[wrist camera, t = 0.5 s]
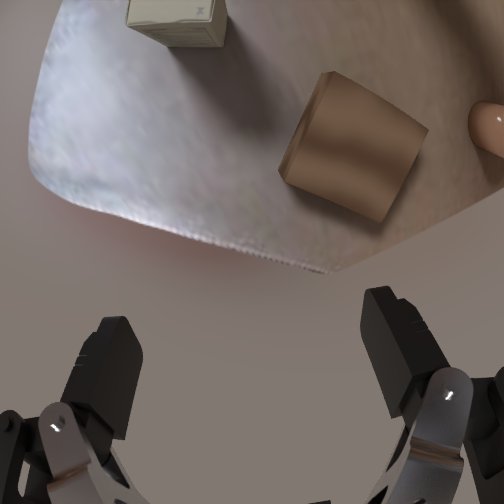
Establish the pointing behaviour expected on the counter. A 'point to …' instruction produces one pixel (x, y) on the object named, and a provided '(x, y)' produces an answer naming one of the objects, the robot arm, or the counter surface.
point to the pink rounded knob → (487, 127)
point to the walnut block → (352, 147)
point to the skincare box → (179, 21)
